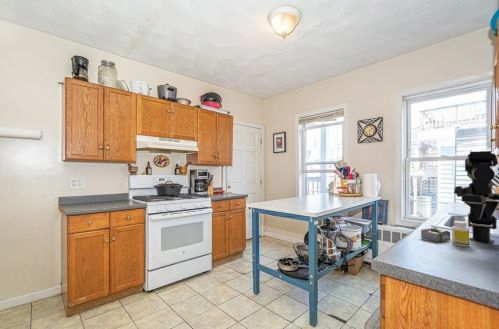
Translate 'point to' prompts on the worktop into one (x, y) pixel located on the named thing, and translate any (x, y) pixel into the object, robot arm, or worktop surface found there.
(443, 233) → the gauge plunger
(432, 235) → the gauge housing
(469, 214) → the robot arm
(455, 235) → the supplement bottle
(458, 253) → the worktop surface
